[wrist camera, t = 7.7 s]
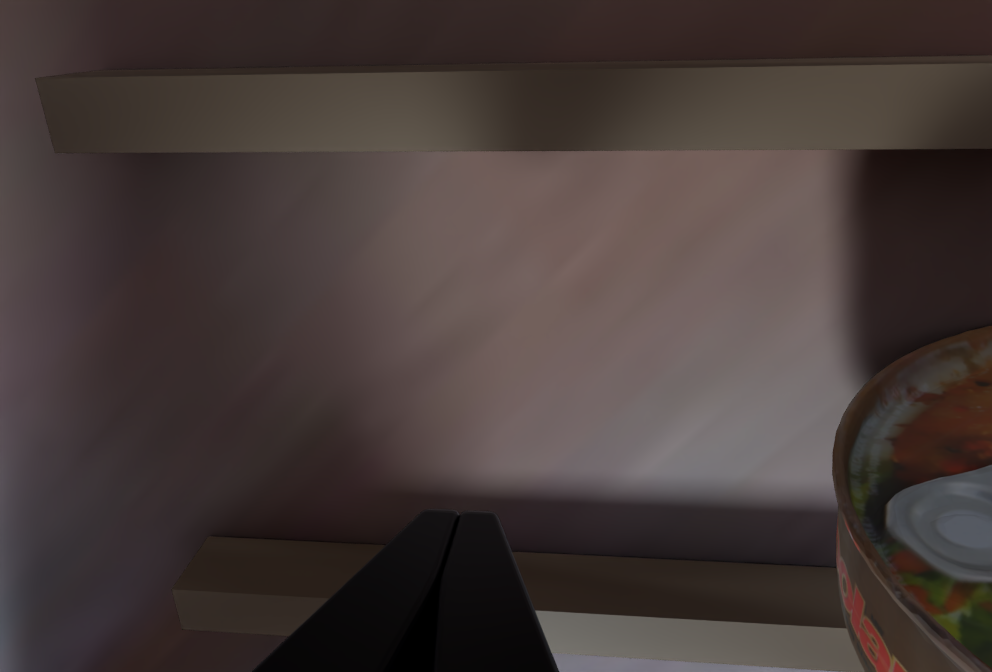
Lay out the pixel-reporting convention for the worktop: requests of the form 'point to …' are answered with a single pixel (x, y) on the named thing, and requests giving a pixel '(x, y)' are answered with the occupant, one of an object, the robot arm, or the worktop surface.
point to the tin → (919, 510)
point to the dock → (539, 127)
